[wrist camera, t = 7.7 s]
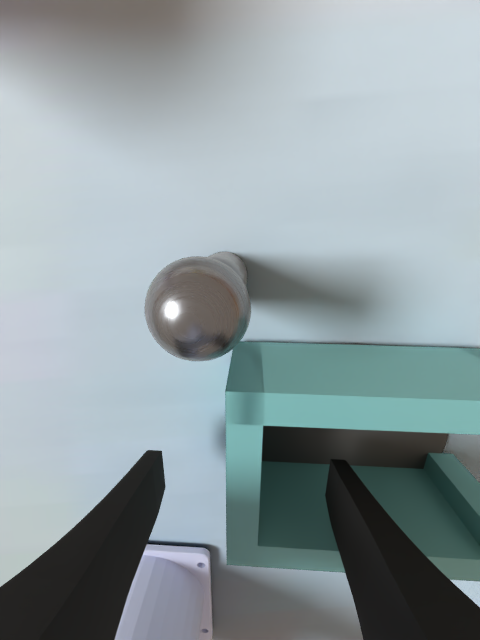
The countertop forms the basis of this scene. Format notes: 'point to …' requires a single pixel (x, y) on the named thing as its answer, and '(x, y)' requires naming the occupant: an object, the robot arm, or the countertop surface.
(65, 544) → the robot arm
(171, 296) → the cylinder
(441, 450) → the coaster
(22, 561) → the countertop surface
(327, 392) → the c link
